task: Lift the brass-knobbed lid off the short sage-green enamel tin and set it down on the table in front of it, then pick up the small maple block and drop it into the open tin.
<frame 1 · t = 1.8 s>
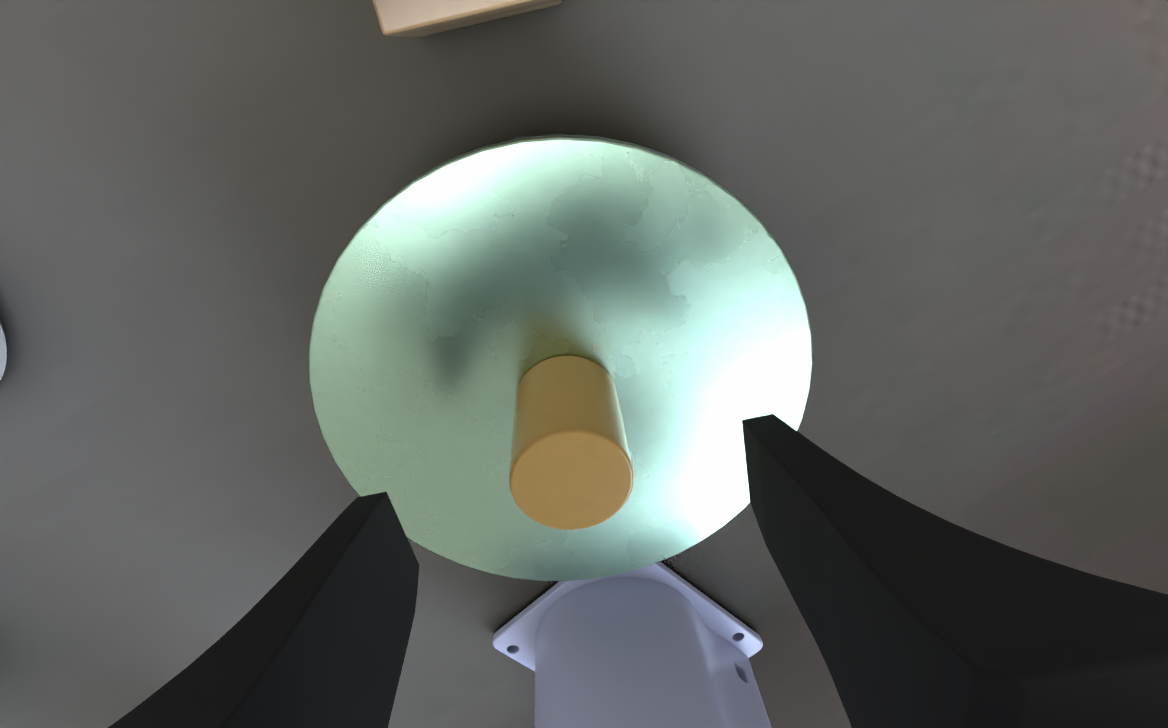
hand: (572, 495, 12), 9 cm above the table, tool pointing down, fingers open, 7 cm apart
tin lid: (565, 390, 16), point 5 cm above the table, touching tin
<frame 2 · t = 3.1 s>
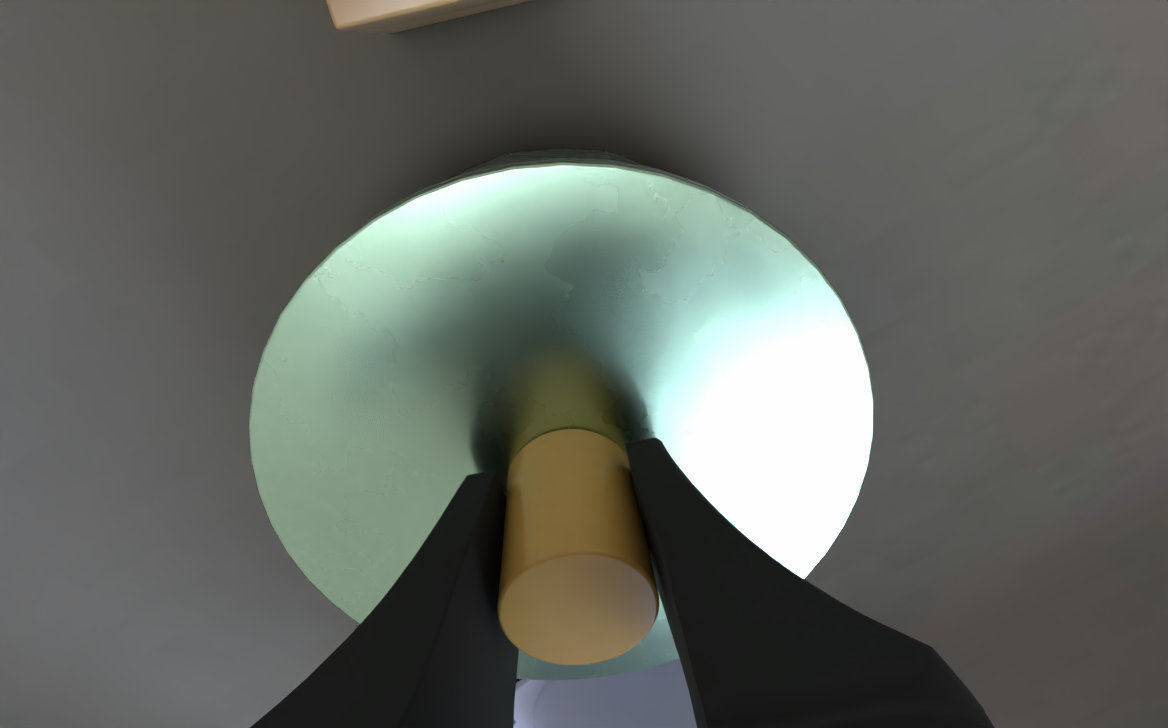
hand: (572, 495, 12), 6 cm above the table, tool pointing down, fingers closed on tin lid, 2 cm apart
tin: (563, 361, 18), on the table
tin lid: (569, 465, 13), point 5 cm above the table, touching gripper, tin
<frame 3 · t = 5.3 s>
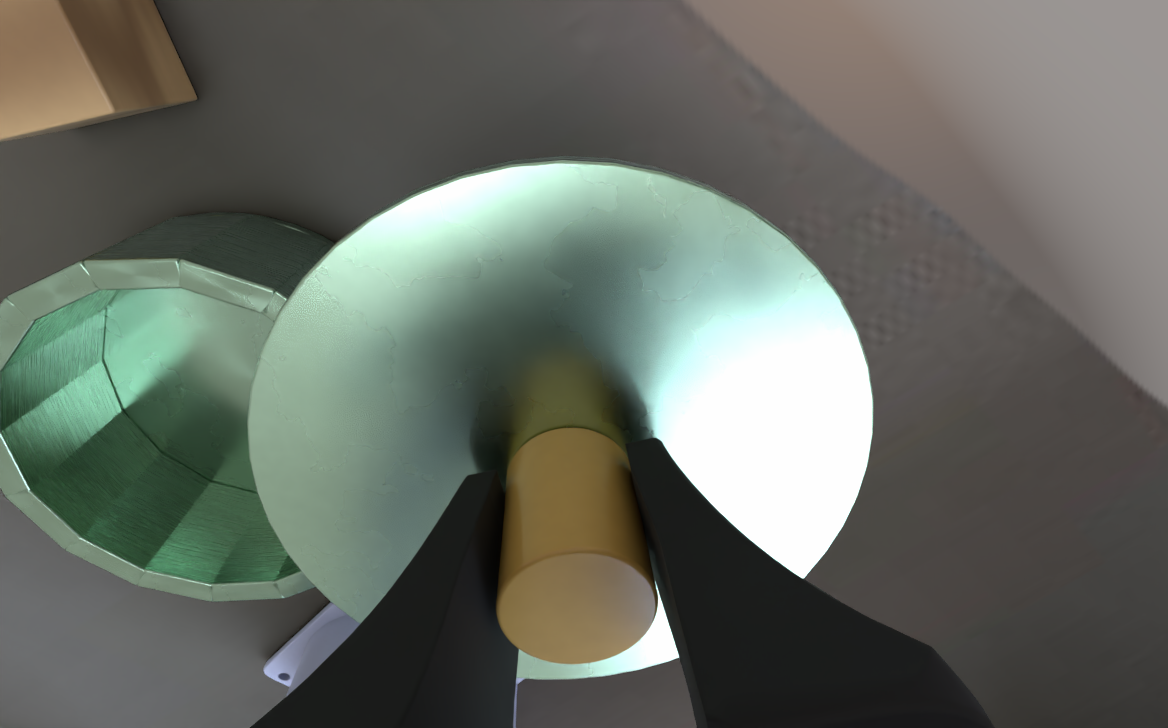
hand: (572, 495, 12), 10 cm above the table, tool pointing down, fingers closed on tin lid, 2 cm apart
tin: (265, 375, 22), on the table
block: (95, 39, 17), on the table
tin lid: (568, 464, 13), point 9 cm above the table, touching gripper
when the fingers open (2 cm above the table, at t = 7.7 s): tin lid stays where it is, point 1 cm above the table.
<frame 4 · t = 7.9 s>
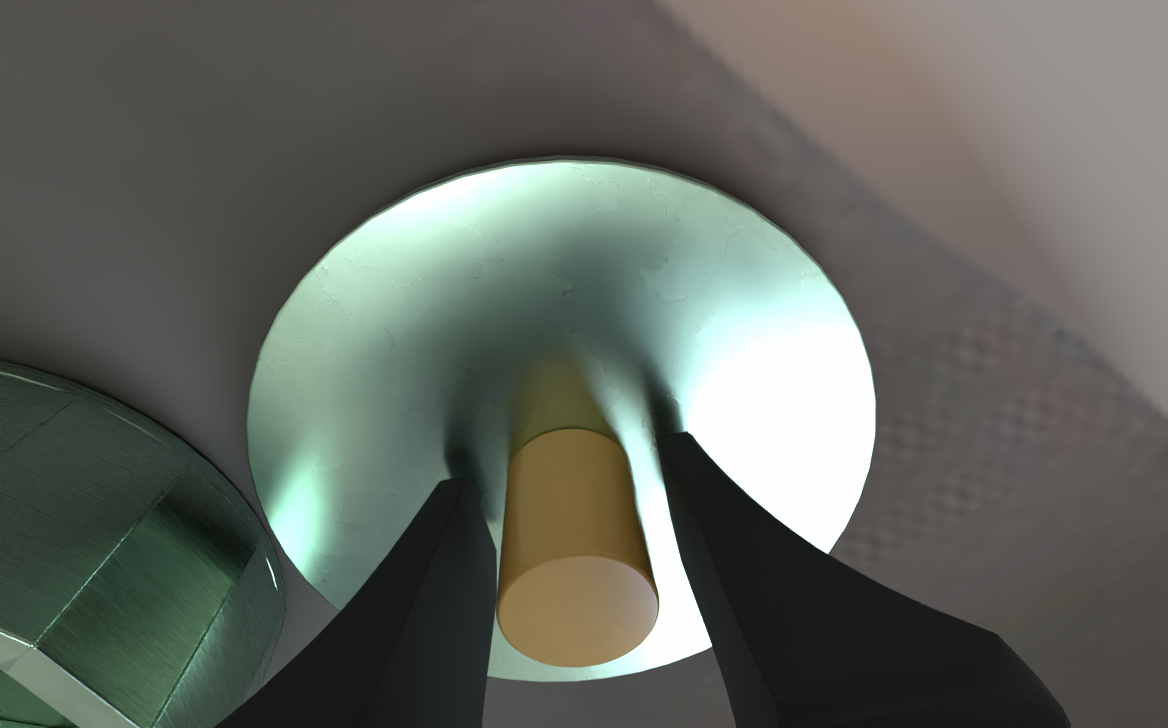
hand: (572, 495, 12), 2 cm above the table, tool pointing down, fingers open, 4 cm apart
tin: (25, 573, 14), on the table
tin lid: (569, 465, 13), point 1 cm above the table
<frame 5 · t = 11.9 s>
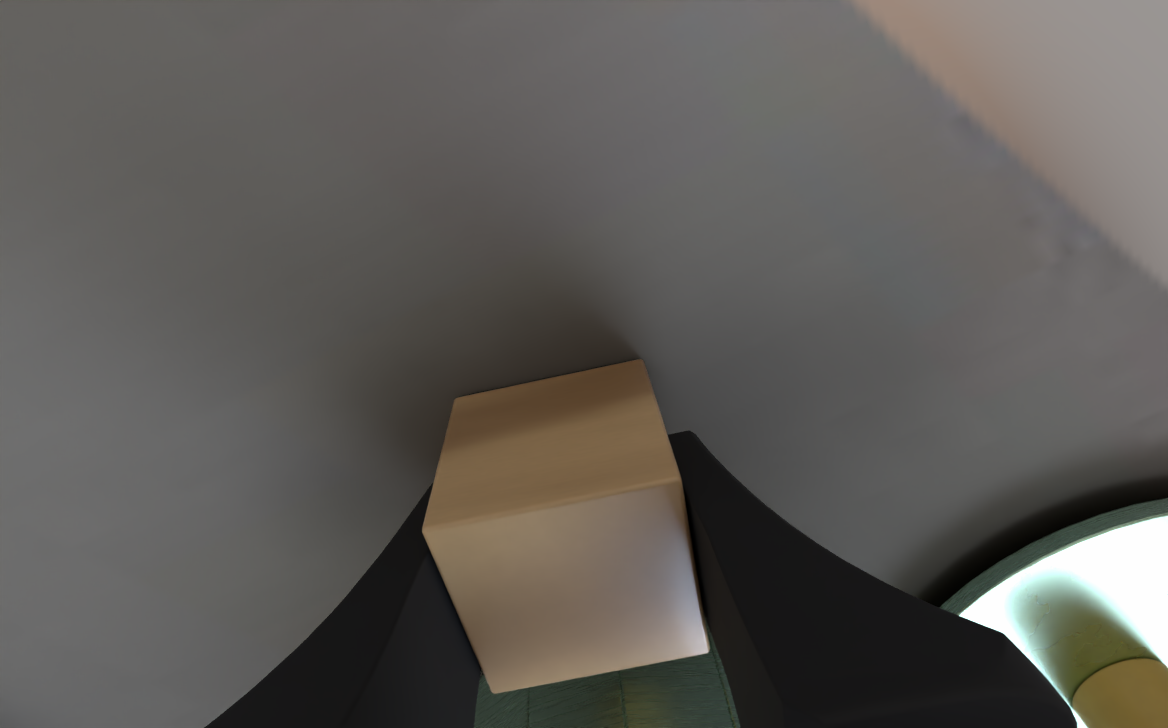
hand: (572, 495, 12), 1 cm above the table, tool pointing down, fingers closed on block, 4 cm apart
block: (568, 454, 14), on the table, touching gripper
tin lid: (1104, 672, 17), point 1 cm above the table
when the fingers open (2 cm above the table, at t = 16.8 s): block stays where it is, resting on tin.
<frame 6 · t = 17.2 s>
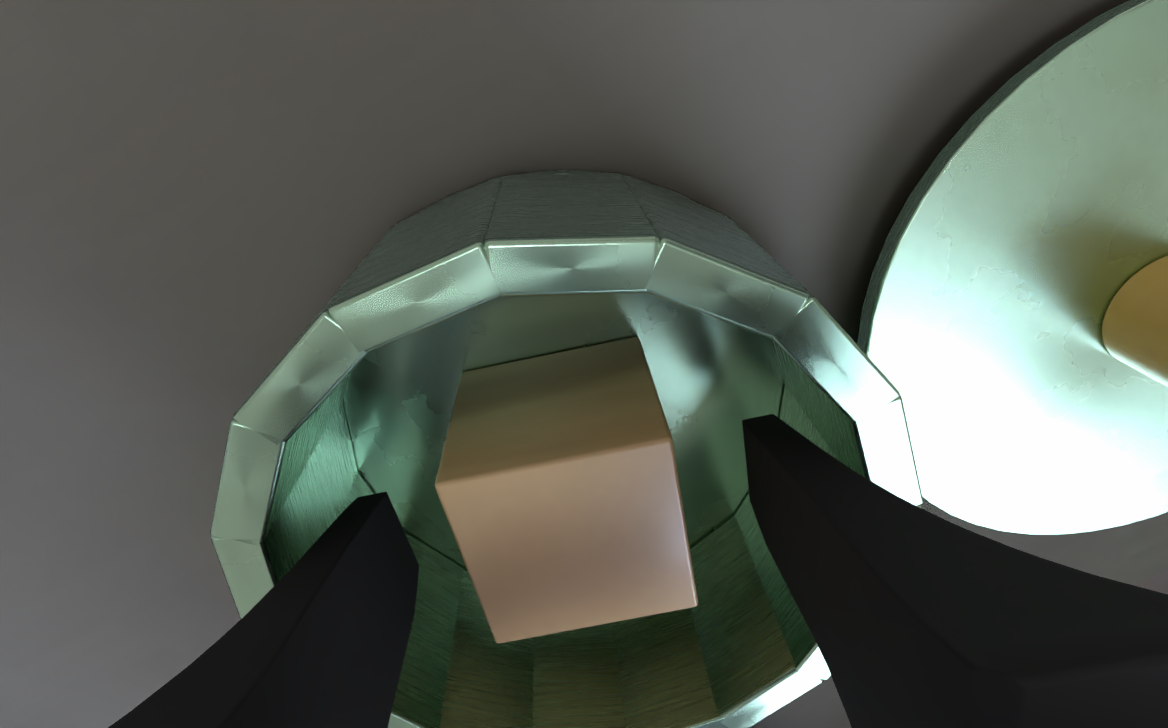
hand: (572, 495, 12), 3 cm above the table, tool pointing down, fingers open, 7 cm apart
tin: (567, 418, 15), on the table
block: (567, 427, 15), resting on tin
tin lid: (1142, 300, 14), point 1 cm above the table
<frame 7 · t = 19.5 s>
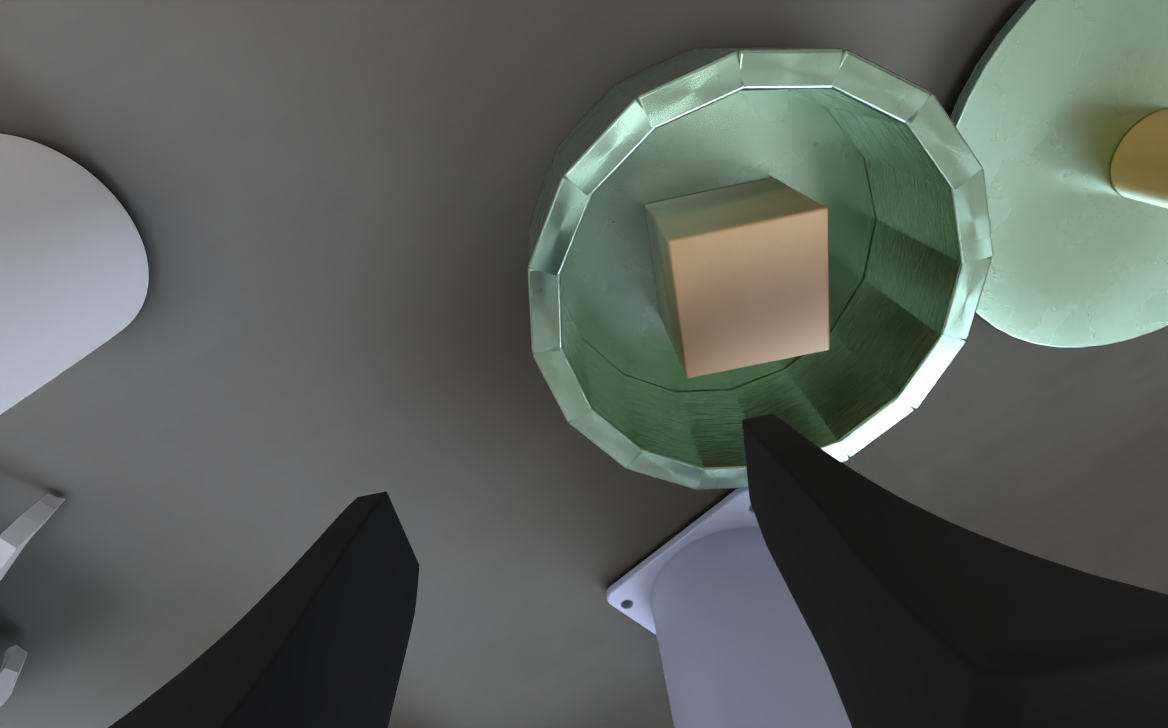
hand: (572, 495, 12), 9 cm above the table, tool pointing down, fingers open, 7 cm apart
tin: (712, 249, 20), on the table
can: (46, 241, 19), on the table
block: (715, 253, 20), resting on tin
tin lid: (1139, 152, 19), point 1 cm above the table
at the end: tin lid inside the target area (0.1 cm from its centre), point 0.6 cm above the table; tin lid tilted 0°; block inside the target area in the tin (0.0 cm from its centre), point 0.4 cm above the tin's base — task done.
